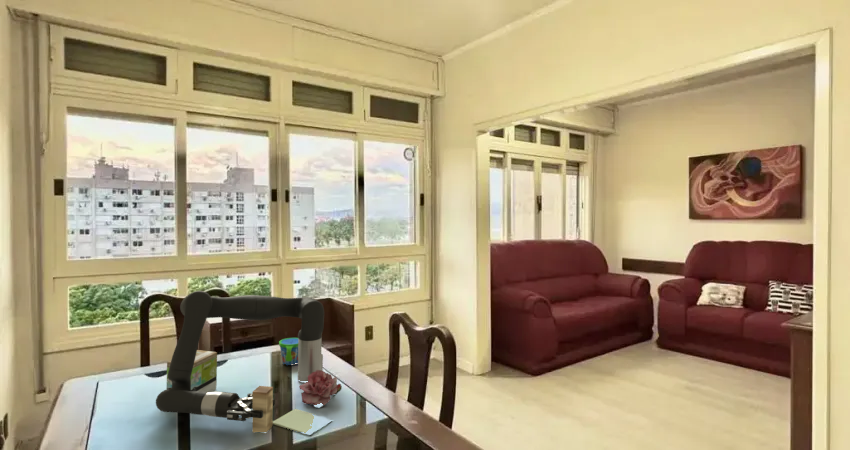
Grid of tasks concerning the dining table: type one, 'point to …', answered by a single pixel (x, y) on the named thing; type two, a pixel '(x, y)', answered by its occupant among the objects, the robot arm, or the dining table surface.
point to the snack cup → (289, 350)
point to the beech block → (263, 408)
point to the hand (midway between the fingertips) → (268, 408)
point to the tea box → (201, 372)
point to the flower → (319, 388)
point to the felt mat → (295, 421)
